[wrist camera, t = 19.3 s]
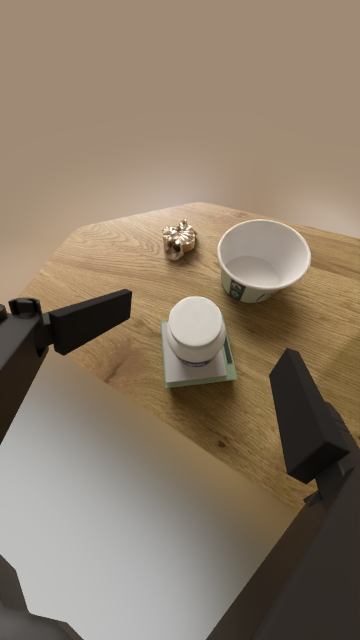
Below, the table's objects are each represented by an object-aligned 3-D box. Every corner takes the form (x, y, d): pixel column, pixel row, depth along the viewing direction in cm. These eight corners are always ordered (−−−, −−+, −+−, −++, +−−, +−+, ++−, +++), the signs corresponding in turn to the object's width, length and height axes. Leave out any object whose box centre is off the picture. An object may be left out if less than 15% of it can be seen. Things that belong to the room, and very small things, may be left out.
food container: (240, 241, 31) (251, 207, 25) (300, 274, 27) (329, 244, 21) (199, 283, 29) (199, 256, 23) (258, 325, 25) (278, 307, 19)
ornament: (175, 226, 34) (173, 209, 31) (204, 237, 32) (205, 220, 29) (153, 253, 32) (148, 238, 29) (183, 266, 30) (181, 252, 27)
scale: (232, 379, 23) (239, 379, 19) (168, 387, 23) (163, 388, 20) (219, 320, 26) (223, 310, 22) (164, 327, 26) (159, 319, 23)
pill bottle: (167, 354, 21) (144, 333, 12) (187, 320, 22) (182, 278, 13) (204, 377, 20) (211, 372, 10) (224, 339, 21) (245, 306, 12)
